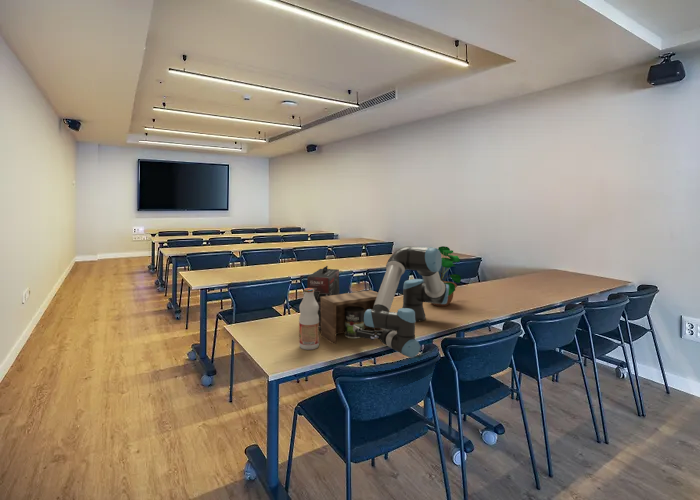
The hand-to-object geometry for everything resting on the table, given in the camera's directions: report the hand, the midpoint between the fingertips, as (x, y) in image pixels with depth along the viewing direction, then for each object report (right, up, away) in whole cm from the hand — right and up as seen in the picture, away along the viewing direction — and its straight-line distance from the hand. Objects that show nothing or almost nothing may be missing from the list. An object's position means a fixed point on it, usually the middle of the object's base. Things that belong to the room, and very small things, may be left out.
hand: (365, 325), depth 190 cm
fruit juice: (-27, -9, -6) cm, 29 cm away
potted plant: (+57, 0, +71) cm, 91 cm away
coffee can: (-5, -7, +10) cm, 13 cm away
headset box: (-22, -5, +28) cm, 36 cm away
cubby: (-6, -7, +11) cm, 14 cm away
